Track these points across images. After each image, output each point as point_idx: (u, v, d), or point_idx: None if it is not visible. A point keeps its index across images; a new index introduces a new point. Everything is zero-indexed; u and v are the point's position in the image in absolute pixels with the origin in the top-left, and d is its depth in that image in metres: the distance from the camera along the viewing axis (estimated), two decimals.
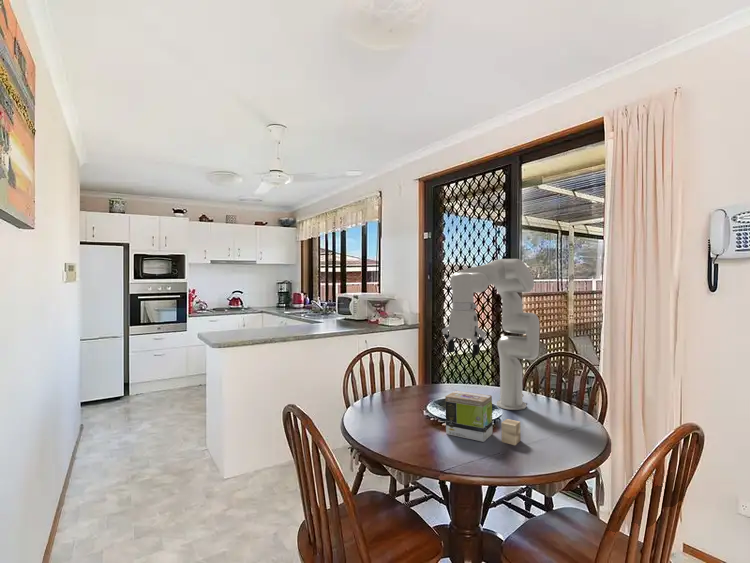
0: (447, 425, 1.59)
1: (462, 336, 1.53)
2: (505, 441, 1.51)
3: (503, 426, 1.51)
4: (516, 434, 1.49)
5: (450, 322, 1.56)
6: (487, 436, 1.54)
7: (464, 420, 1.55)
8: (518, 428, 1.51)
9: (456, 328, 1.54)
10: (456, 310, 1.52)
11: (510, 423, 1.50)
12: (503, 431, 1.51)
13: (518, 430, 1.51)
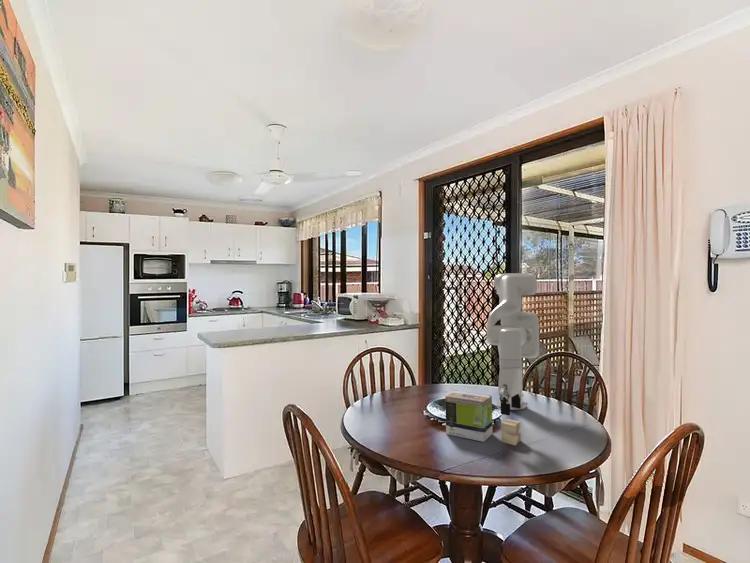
0: (447, 425, 1.59)
1: (517, 392, 1.50)
2: (505, 441, 1.51)
3: (503, 426, 1.51)
4: (516, 434, 1.49)
5: (511, 382, 1.47)
6: (487, 436, 1.54)
7: (464, 420, 1.55)
8: (518, 428, 1.51)
9: (515, 386, 1.48)
10: (519, 367, 1.48)
11: (510, 423, 1.50)
12: (503, 431, 1.51)
13: (518, 430, 1.51)
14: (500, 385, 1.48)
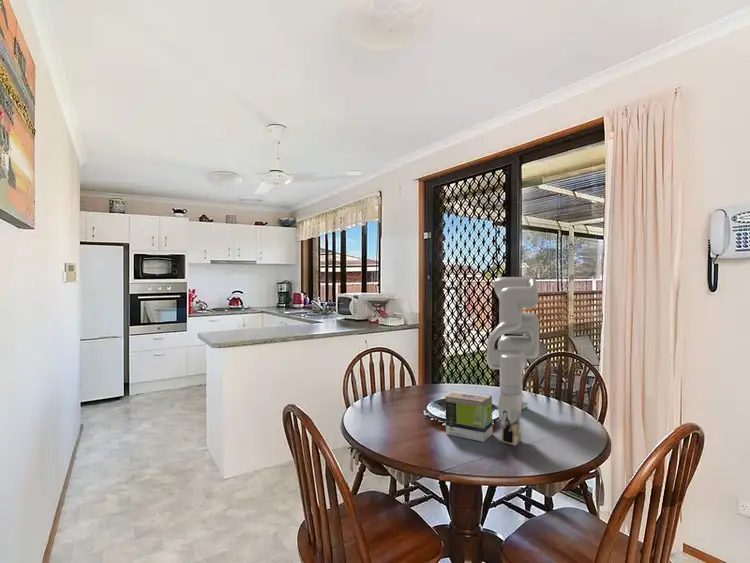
0: (447, 425, 1.59)
1: (517, 418, 1.51)
2: (505, 441, 1.51)
3: None
4: (516, 434, 1.49)
5: (512, 408, 1.47)
6: (487, 436, 1.54)
7: (464, 420, 1.55)
8: (518, 428, 1.51)
9: (515, 412, 1.49)
10: (520, 393, 1.49)
11: None
12: None
13: (518, 430, 1.51)
14: (500, 411, 1.49)
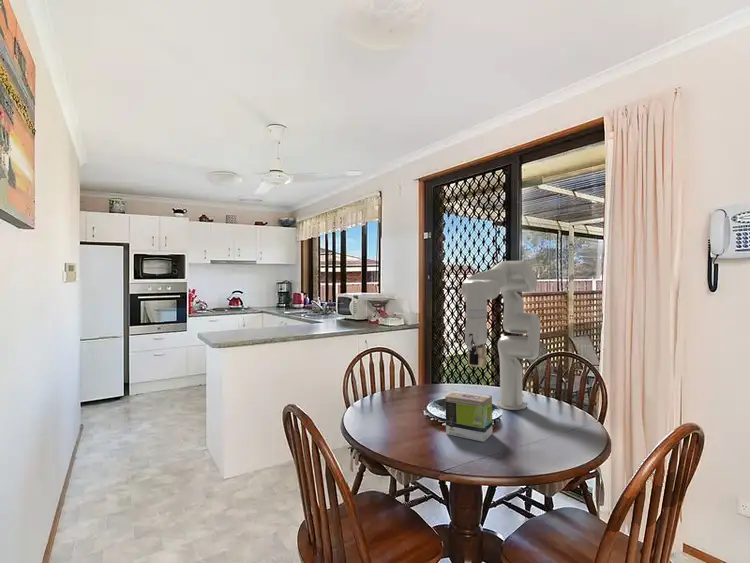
0: (447, 425, 1.59)
1: (483, 342, 1.56)
2: (471, 364, 1.55)
3: None
4: (481, 356, 1.54)
5: (477, 331, 1.52)
6: (487, 436, 1.54)
7: (464, 420, 1.55)
8: (484, 352, 1.56)
9: (481, 335, 1.54)
10: (485, 317, 1.54)
11: None
12: None
13: (484, 354, 1.56)
14: (466, 335, 1.54)
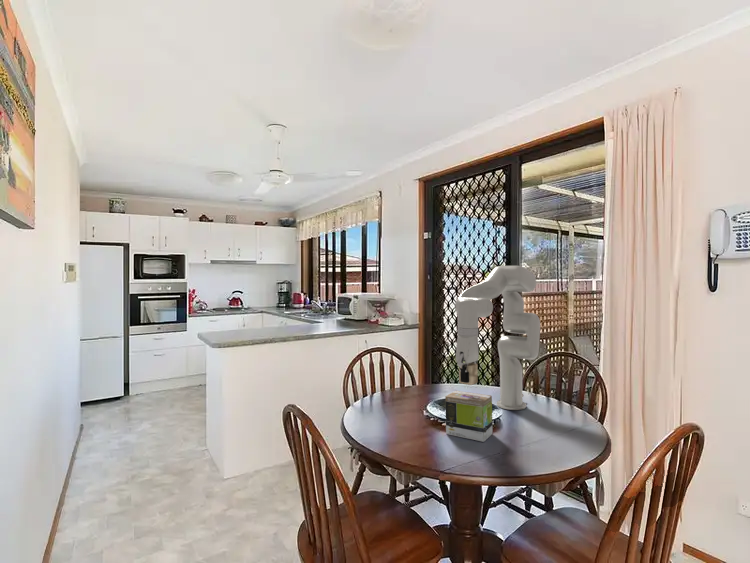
0: (447, 425, 1.59)
1: (474, 360, 1.58)
2: (462, 382, 1.57)
3: None
4: (472, 374, 1.56)
5: (468, 349, 1.54)
6: (487, 436, 1.54)
7: (464, 420, 1.55)
8: (475, 369, 1.57)
9: (472, 353, 1.56)
10: (476, 335, 1.55)
11: None
12: None
13: (475, 371, 1.57)
14: (457, 353, 1.55)
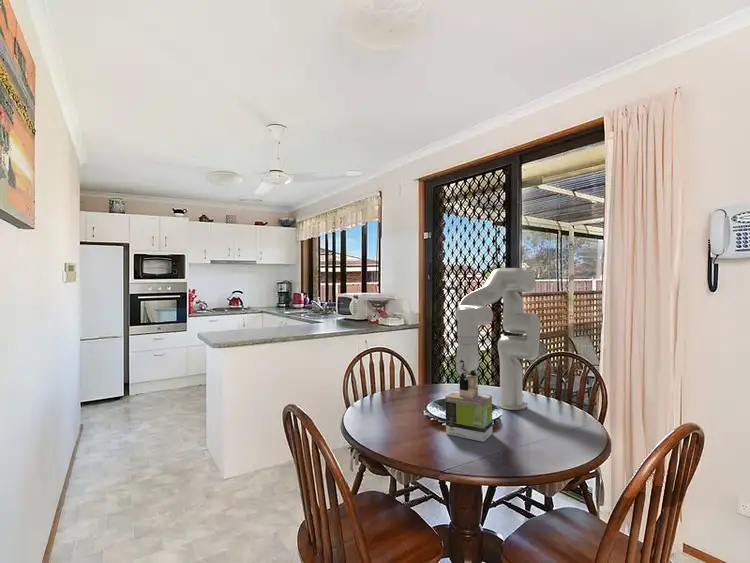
0: (447, 425, 1.59)
1: (474, 368, 1.58)
2: (463, 395, 1.58)
3: None
4: (472, 387, 1.56)
5: (468, 358, 1.54)
6: (487, 436, 1.54)
7: (464, 420, 1.55)
8: (475, 382, 1.58)
9: (472, 362, 1.56)
10: (476, 344, 1.55)
11: (468, 378, 1.57)
12: None
13: (475, 384, 1.58)
14: (457, 361, 1.56)
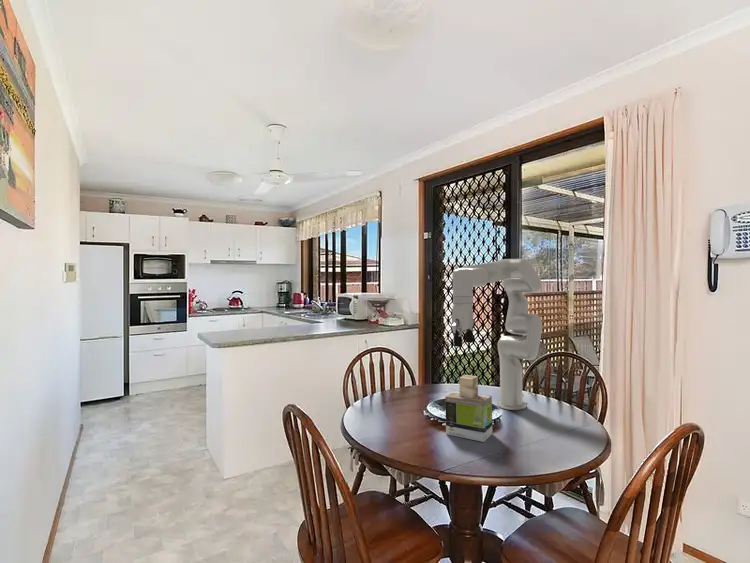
0: (447, 425, 1.59)
1: (469, 327, 1.64)
2: (463, 395, 1.58)
3: (461, 381, 1.58)
4: (472, 387, 1.56)
5: (463, 316, 1.60)
6: (487, 436, 1.54)
7: (464, 420, 1.55)
8: (475, 382, 1.58)
9: (467, 321, 1.62)
10: (470, 303, 1.62)
11: (468, 378, 1.57)
12: (461, 385, 1.58)
13: (475, 384, 1.58)
14: (453, 320, 1.62)
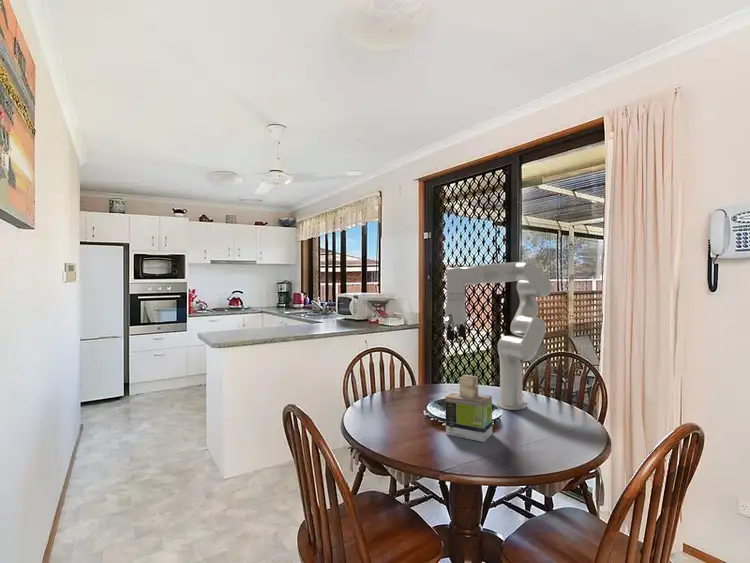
0: (447, 425, 1.59)
1: (461, 322, 1.75)
2: (463, 395, 1.57)
3: (461, 381, 1.58)
4: (472, 387, 1.56)
5: (455, 312, 1.71)
6: (487, 436, 1.54)
7: (464, 420, 1.55)
8: (475, 382, 1.57)
9: (459, 316, 1.73)
10: (463, 300, 1.73)
11: (468, 378, 1.57)
12: (461, 385, 1.58)
13: (475, 384, 1.57)
14: (446, 315, 1.73)
